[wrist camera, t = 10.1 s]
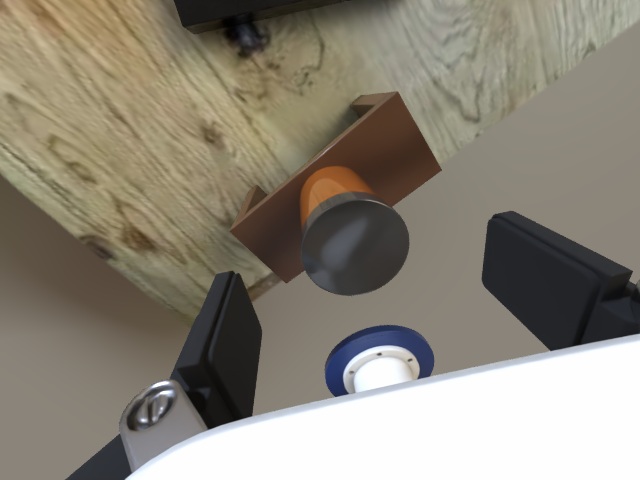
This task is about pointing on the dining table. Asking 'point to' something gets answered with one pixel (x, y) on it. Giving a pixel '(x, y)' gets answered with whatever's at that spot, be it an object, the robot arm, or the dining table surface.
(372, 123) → the shelf
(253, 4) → the hob
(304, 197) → the spice bottle
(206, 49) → the dining table surface
